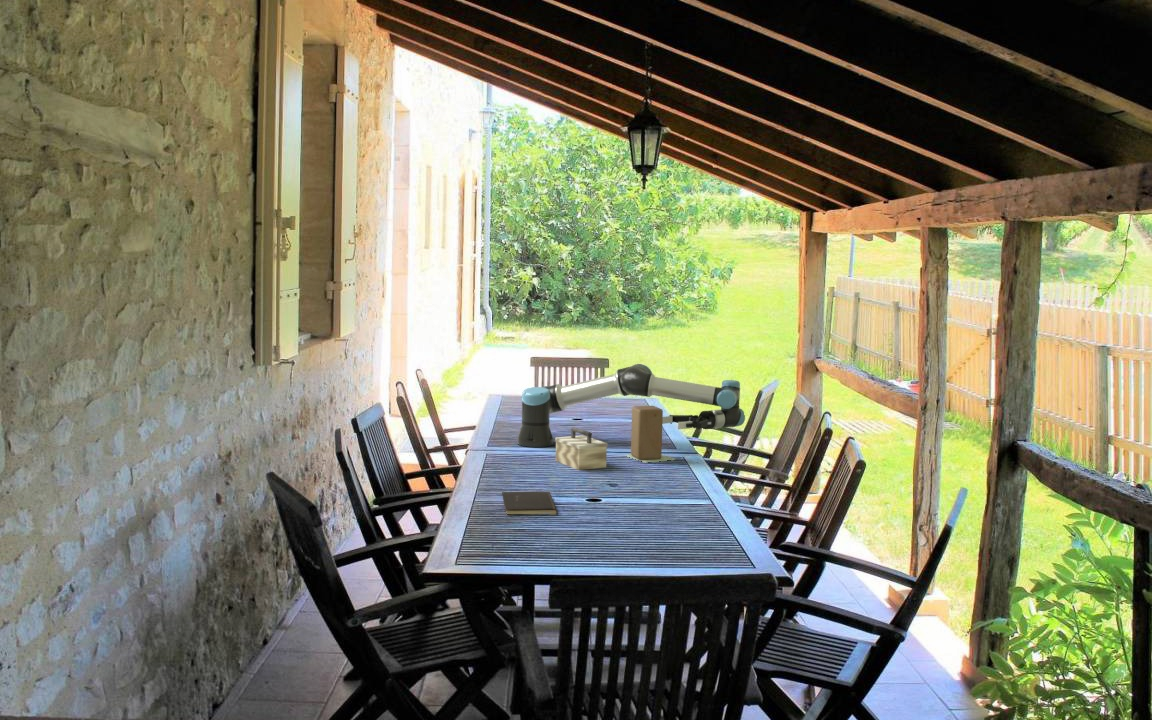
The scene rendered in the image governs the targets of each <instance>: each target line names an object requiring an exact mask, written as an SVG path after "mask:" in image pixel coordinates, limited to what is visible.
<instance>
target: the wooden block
mask: <svg viewBox="0 0 1152 720" xmlns="http://www.w3.org/2000/svg"><path fill="white" fill-rule="evenodd" d="M663 414H664V411H663V409H662V408H660V407H658V406H655V405H634V406H632V408H631V432H630V433H631V434H630V435H631V436H630V439H631V441H630V455H632V456H634V457H636V458H637V459H639V460H645V459H660V458H661V455H663V454H662V449H663V447H662V446H663V424H662V422H663V417H664V415H663Z"/></svg>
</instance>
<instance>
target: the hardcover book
mask: <svg viewBox="0 0 1152 720" xmlns="http://www.w3.org/2000/svg"><path fill="white" fill-rule="evenodd" d="M501 496H502V500H503V506H504V509H505V513H507V514H543V513H546V514H548V513H550V515H556V514H557V515H558V509H557V506H556V504H555V502H554V499H553V497H552V495H551V492H550V491H502V492H501ZM507 514H506V515H507Z"/></svg>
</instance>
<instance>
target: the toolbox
mask: <svg viewBox="0 0 1152 720" xmlns="http://www.w3.org/2000/svg"><path fill="white" fill-rule="evenodd" d="M570 432H571V433H570V436H561V437H560V436H559V437H558V436H557V437H555V438H554V441H555V462H557V463H559V462H560V464H562V465H564V466H565V465H566V466H567V467H570V468H572V469H575V470H578V471H582V470H591V469H592V470H593V469H594V470H595V469H601V468H607V457H608V456H607V453H608V452H607V451H608V450H607V449H608V443H607V442H604V441H602V440H599V439H596V438H593V437H592V436H593V434H592V432H591V431H587V430H584V429H581V428H578V427H574V426H571V427H570ZM576 433H577V434H579V435H576ZM580 434H581V435H580Z"/></svg>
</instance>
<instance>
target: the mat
mask: <svg viewBox="0 0 1152 720" xmlns="http://www.w3.org/2000/svg"><path fill="white" fill-rule="evenodd" d="M626 456H627V457H626ZM625 457H626V458H629V457H630V458H629V459H632V458H633V459H632V460H635V459H636V460H635V461H638V460H639V459H637V458H636V457H634V456H632V455H631V454H625ZM667 460H671V461H676V458H675V457H671V456H667V455H665V454H662V455H661V458H660V459H645V460H639V461H638V462H641V461H642V462H641V463H644V462H645V464H649V463H648V462H652V463H660V462H659V461H661V462H668V461H667Z"/></svg>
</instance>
